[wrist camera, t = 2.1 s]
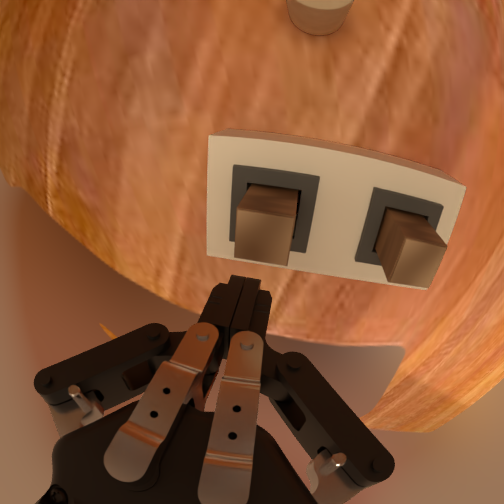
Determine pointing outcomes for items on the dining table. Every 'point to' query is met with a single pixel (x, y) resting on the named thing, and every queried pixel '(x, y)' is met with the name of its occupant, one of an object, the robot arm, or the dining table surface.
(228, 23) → the dining table surface
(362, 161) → the socket board
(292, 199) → the peg
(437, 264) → the peg
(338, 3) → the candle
